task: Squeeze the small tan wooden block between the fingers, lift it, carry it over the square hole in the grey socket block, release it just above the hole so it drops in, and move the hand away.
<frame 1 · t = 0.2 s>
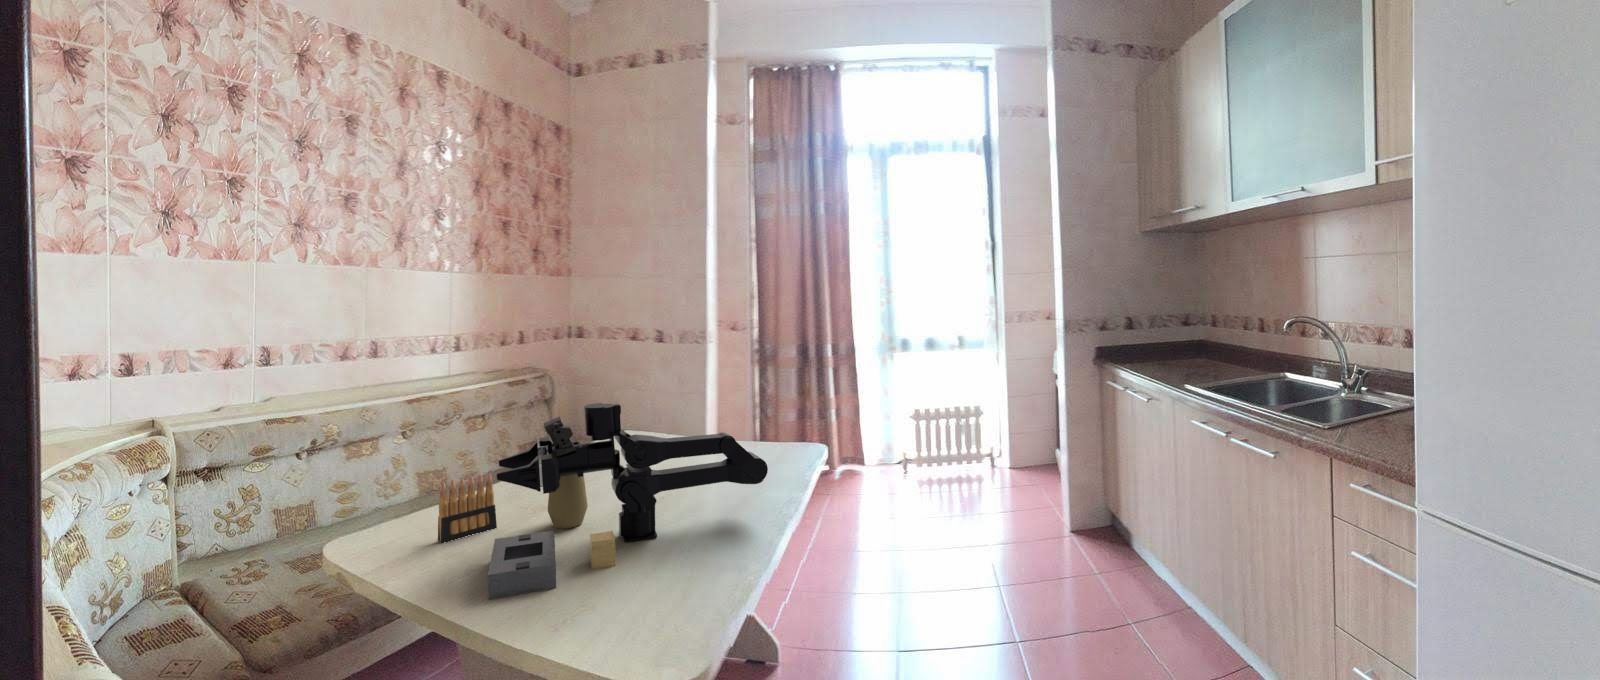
hand: (497, 469, 110), 16 cm above the table, tool horizontal, fingers open, 9 cm apart
squeeze bottle: (568, 525, 127), on the table
grey socket block: (524, 573, 104), on the table
ammunition clip: (468, 535, 121), on the table
tan wooden block: (602, 563, 108), on the table
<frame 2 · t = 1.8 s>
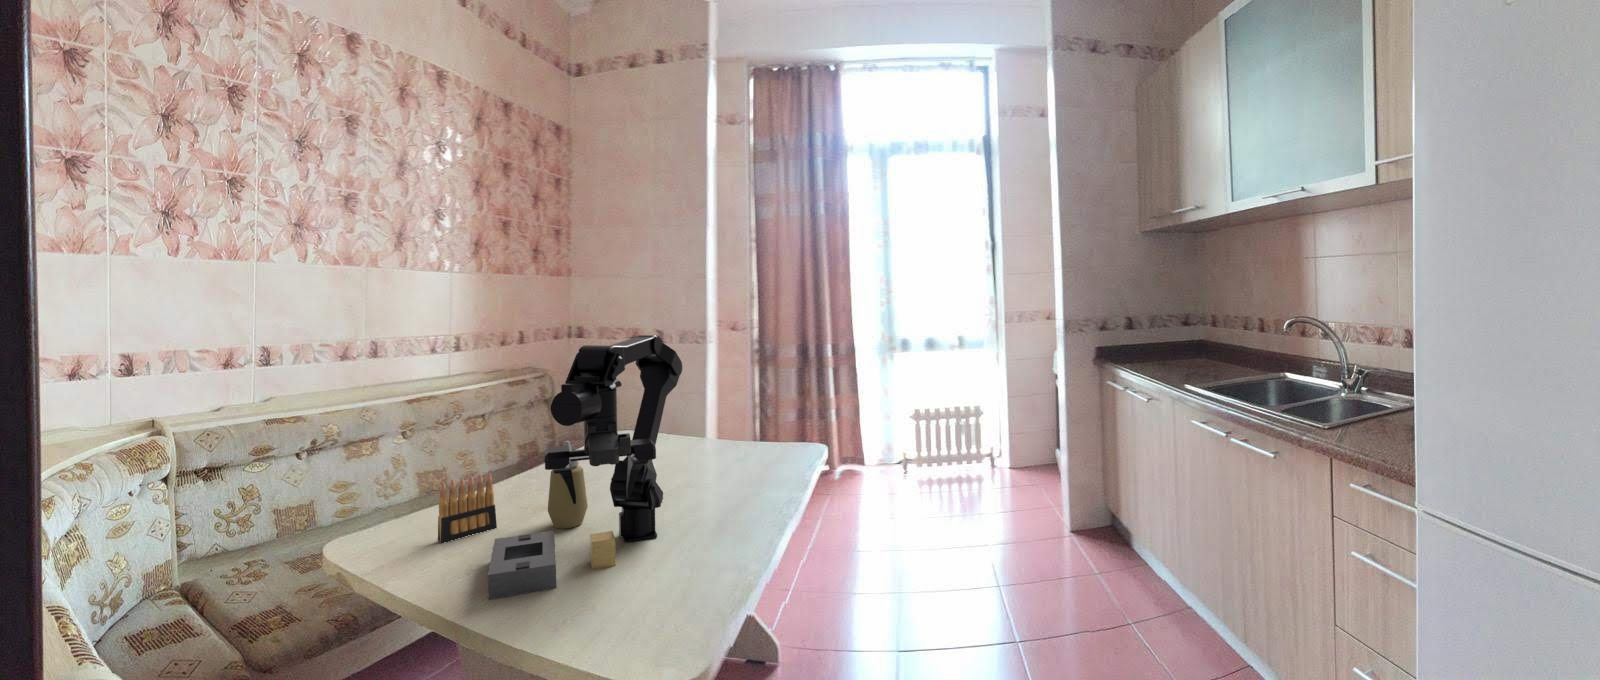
hand: (601, 500, 107), 12 cm above the table, tool pointing down, fingers open, 9 cm apart
nothing on the table moved.
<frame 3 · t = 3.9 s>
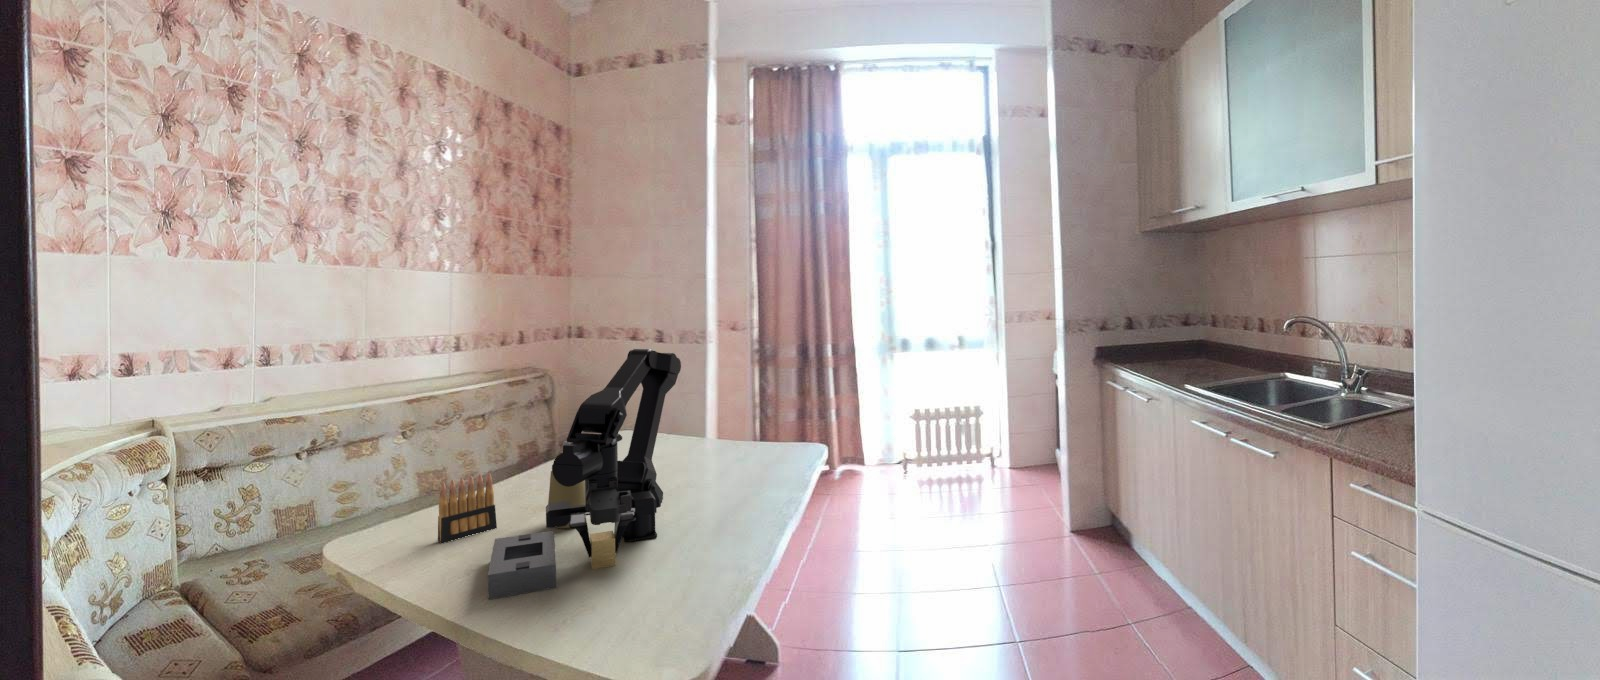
hand: (602, 554, 108), 2 cm above the table, tool pointing down, fingers closed on tan wooden block, 4 cm apart
tan wooden block: (602, 562, 108), on the table, touching gripper
everything else where it was.
when the fingers open (6 cm above the table, at t = 7.8 s): tan wooden block drops 5 cm, resting in grey socket block.
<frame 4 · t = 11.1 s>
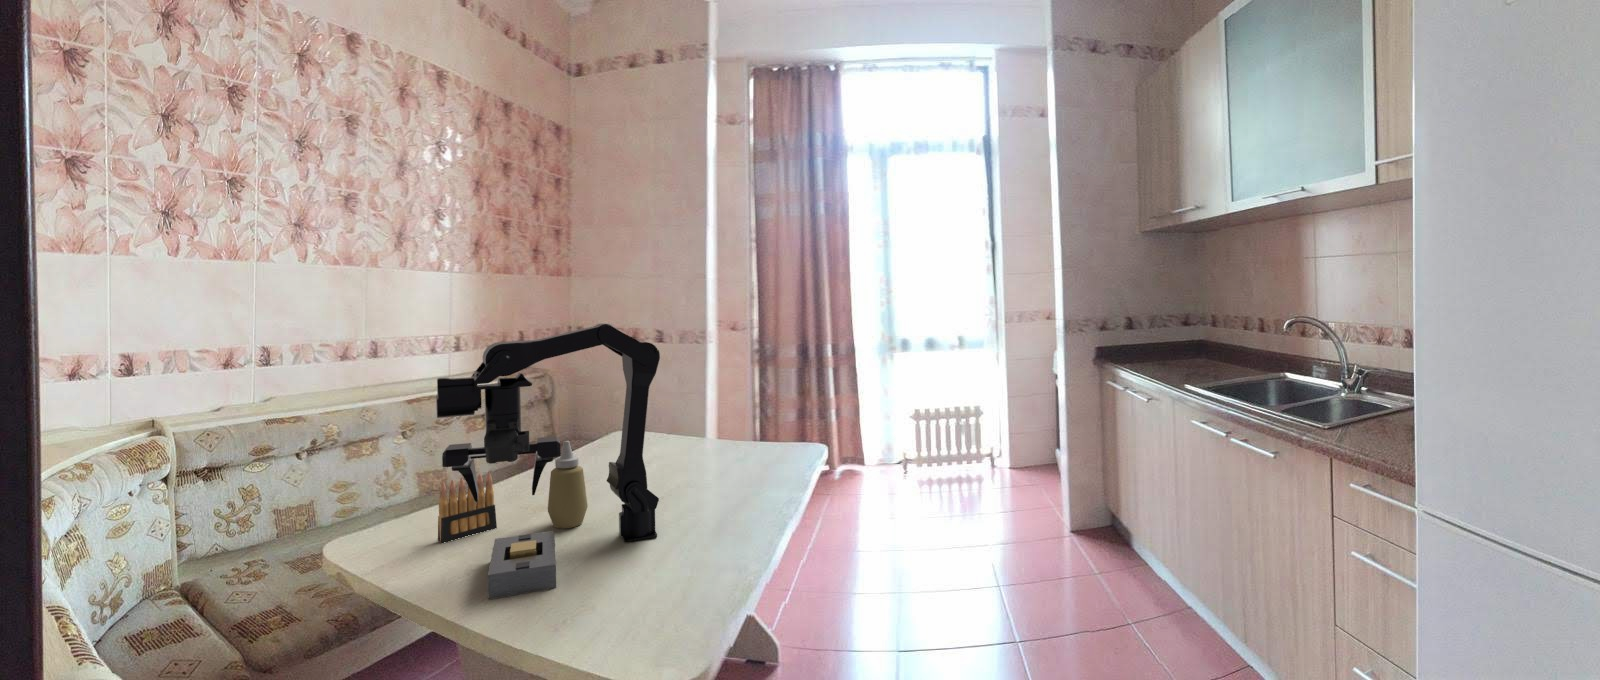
hand: (505, 497, 107), 12 cm above the table, tool pointing down, fingers open, 9 cm apart
tan wooden block: (524, 573, 104), resting in grey socket block
everything else where it was.
at the end: tan wooden block 0.0 cm off-centre on the grey socket block, point 0.0 cm above the grey socket block's base; tan wooden block tilted 0°; the gripper is holding nothing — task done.
